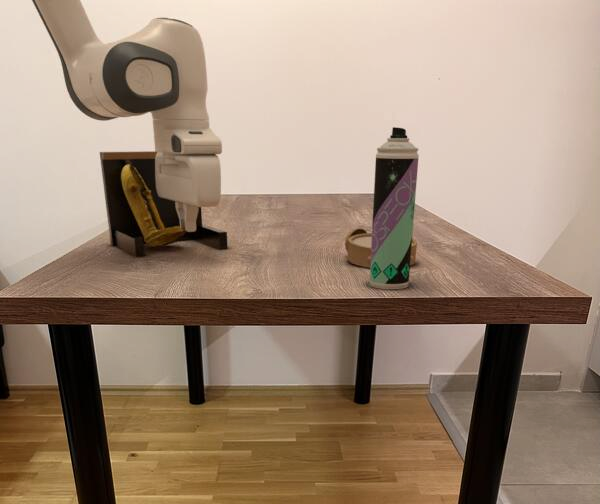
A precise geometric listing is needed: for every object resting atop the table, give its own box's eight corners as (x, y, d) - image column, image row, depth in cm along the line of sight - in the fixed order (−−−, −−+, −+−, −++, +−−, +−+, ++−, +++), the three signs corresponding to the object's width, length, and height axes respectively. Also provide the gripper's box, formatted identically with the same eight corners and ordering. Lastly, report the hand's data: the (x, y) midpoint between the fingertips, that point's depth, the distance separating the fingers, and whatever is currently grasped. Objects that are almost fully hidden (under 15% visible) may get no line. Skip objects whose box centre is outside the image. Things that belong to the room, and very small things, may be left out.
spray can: (362, 282, 91) (369, 127, 82) (395, 279, 93) (405, 127, 84) (382, 290, 86) (391, 127, 78) (416, 287, 88) (429, 127, 80)
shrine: (117, 249, 115) (106, 159, 109) (144, 242, 122) (136, 157, 115) (170, 254, 111) (162, 160, 104) (195, 247, 118) (189, 158, 111)
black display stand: (133, 257, 108) (122, 154, 101) (110, 244, 119) (99, 151, 113) (230, 248, 116) (226, 153, 109) (200, 238, 128) (194, 150, 121)
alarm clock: (356, 250, 98) (338, 220, 110) (354, 281, 100) (336, 248, 112) (427, 249, 99) (401, 219, 111) (422, 279, 102) (398, 247, 114)
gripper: (142, 139, 108) (150, 224, 114) (187, 141, 92) (193, 240, 98) (177, 139, 111) (183, 222, 117) (226, 141, 95) (230, 237, 101)
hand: (188, 230), depth 107 cm, fingers closed
